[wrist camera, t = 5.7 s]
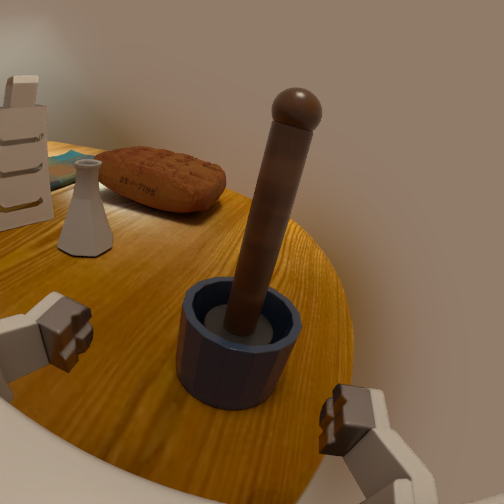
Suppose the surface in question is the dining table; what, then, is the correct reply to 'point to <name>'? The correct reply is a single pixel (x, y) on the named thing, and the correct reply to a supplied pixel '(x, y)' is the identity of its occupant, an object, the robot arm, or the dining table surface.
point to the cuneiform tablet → (162, 178)
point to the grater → (23, 154)
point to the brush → (268, 219)
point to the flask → (86, 214)
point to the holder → (232, 349)
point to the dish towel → (64, 168)
